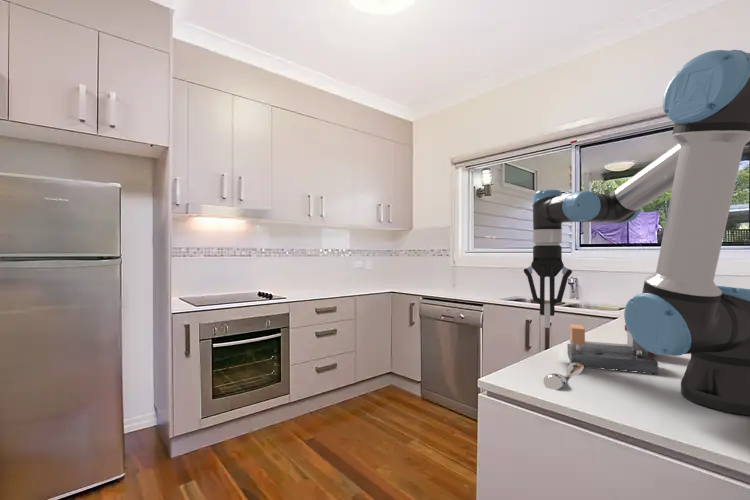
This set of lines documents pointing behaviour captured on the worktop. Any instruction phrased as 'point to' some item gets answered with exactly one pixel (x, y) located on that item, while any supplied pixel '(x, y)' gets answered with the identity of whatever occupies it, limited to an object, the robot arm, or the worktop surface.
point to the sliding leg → (577, 335)
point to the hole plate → (613, 360)
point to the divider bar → (614, 347)
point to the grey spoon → (561, 377)
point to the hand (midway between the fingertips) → (547, 326)
